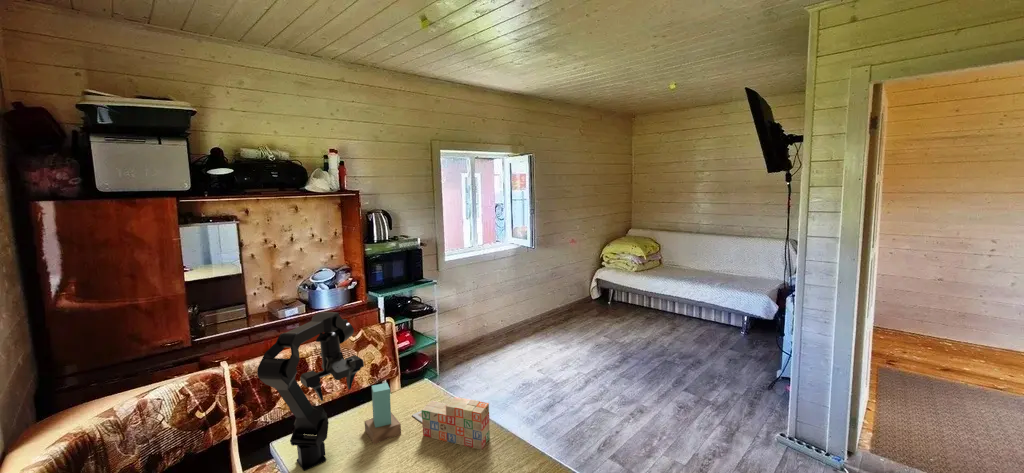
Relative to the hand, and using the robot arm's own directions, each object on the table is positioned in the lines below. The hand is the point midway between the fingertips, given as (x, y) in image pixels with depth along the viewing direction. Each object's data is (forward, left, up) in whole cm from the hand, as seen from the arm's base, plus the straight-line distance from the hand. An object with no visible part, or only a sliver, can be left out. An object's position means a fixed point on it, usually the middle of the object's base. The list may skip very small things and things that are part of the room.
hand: (335, 394), depth 140 cm
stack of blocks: (+25, -31, -14) cm, 42 cm away
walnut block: (+10, -11, -14) cm, 20 cm away
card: (+27, -13, -13) cm, 33 cm away
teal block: (+10, -11, -10) cm, 18 cm away
